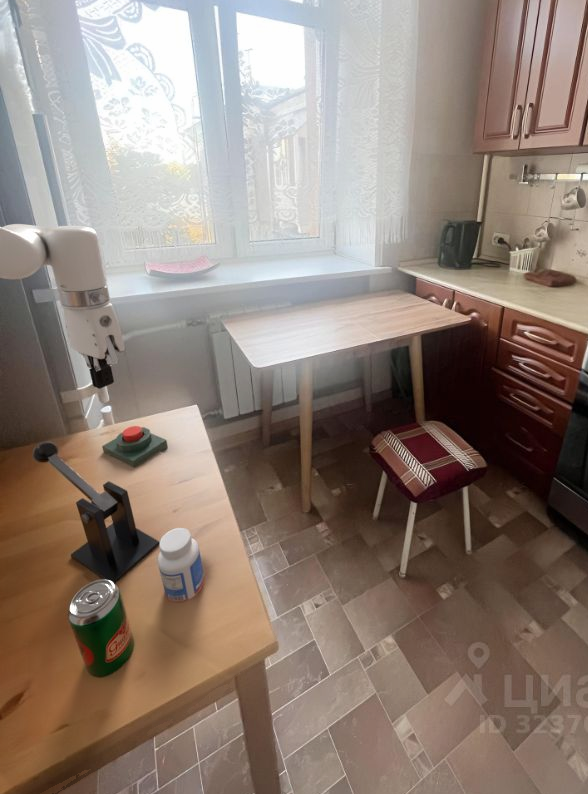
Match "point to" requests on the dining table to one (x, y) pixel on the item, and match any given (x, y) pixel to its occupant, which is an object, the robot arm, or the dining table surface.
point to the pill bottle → (180, 565)
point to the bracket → (112, 538)
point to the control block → (135, 448)
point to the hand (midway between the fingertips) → (103, 384)
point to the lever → (75, 478)
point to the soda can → (101, 627)
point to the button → (132, 434)
